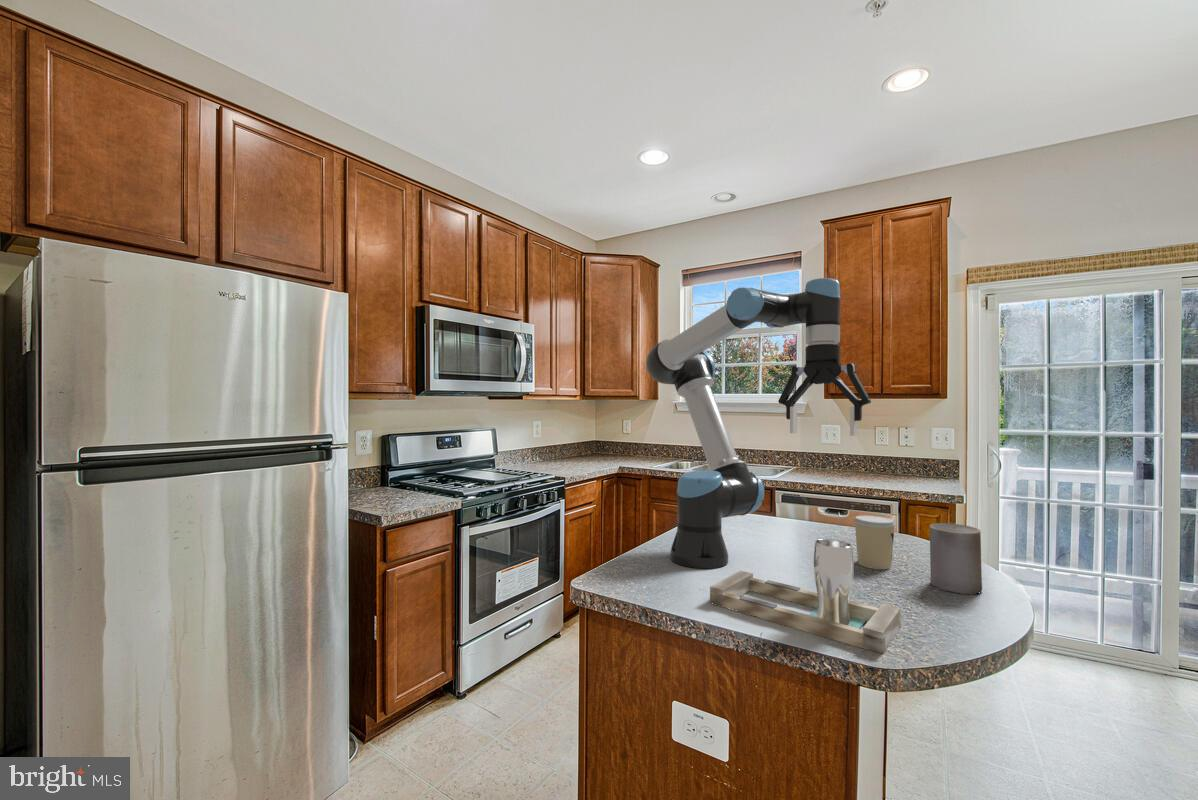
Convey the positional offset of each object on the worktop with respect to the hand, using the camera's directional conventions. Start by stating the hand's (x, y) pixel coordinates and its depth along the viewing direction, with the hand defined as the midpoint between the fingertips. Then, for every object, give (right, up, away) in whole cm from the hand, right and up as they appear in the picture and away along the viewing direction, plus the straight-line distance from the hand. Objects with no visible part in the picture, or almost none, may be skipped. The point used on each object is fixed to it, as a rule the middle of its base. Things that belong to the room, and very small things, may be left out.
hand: (822, 434), depth 119 cm
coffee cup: (+19, -35, +13) cm, 42 cm away
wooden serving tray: (-13, -34, -20) cm, 42 cm away
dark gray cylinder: (+29, -35, -4) cm, 46 cm away
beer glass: (-9, -34, -24) cm, 43 cm away
